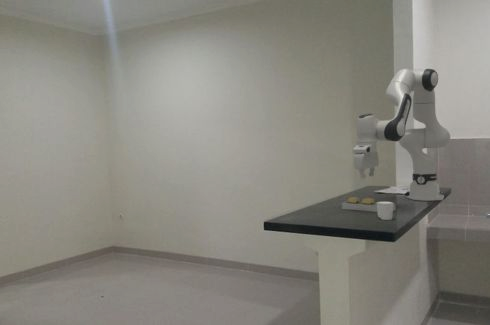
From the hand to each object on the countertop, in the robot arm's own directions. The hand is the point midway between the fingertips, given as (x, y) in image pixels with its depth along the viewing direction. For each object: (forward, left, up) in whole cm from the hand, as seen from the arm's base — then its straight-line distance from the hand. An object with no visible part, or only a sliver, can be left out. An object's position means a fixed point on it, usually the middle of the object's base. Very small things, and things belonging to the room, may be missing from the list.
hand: (367, 177), depth 192 cm
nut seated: (0, -7, -15) cm, 17 cm away
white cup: (+14, +14, -16) cm, 26 cm away
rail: (0, 0, -16) cm, 16 cm away
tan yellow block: (0, 0, -15) cm, 15 cm away
